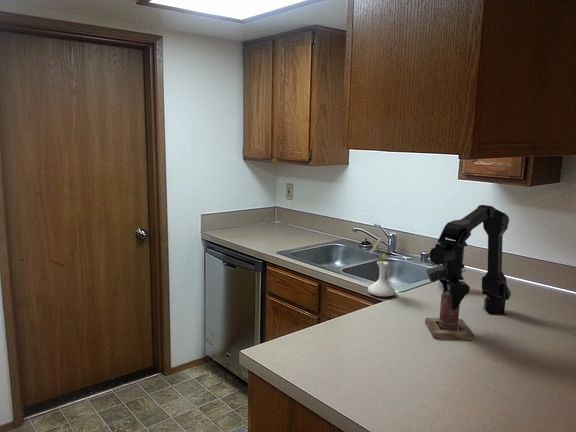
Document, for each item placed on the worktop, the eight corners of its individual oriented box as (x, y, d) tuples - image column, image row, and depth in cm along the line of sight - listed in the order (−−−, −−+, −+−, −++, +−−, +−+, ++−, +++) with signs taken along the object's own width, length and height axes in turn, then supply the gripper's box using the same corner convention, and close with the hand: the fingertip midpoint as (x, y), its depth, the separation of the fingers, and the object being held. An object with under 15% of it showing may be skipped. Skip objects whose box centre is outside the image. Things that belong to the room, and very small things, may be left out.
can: (459, 335, 156) (462, 296, 154) (439, 333, 157) (442, 294, 155) (456, 328, 162) (459, 290, 160) (437, 326, 163) (440, 288, 161)
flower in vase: (377, 288, 204) (380, 232, 199) (400, 294, 196) (403, 237, 191) (359, 294, 195) (362, 236, 190) (382, 302, 187) (386, 241, 182)
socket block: (461, 324, 165) (462, 319, 165) (473, 340, 153) (474, 334, 152) (424, 322, 166) (425, 317, 166) (433, 338, 154) (433, 332, 153)
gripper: (423, 252, 165) (420, 294, 168) (436, 266, 147) (432, 313, 149) (455, 253, 164) (451, 295, 167) (472, 268, 146) (468, 315, 148)
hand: (450, 304), depth 158 cm, fingers open, 9 cm apart
